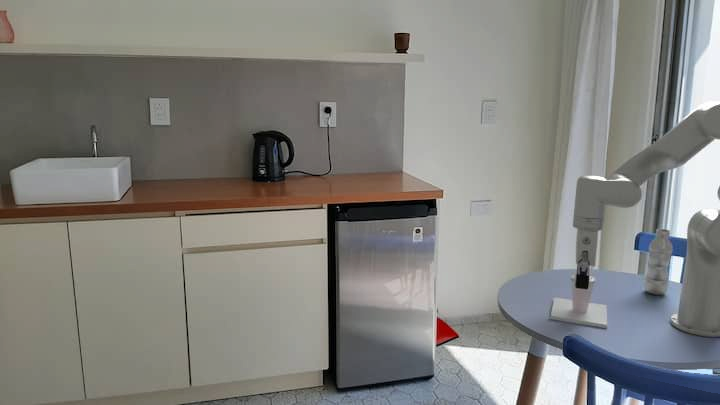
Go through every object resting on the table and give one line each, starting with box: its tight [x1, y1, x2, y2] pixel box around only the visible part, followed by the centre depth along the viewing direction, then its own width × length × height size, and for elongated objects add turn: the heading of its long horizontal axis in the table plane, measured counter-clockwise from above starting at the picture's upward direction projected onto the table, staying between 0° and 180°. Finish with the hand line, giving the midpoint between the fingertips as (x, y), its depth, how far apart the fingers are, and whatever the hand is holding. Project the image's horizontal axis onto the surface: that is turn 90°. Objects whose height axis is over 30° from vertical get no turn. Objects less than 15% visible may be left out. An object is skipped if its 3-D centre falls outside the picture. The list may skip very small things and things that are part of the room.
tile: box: [549, 297, 608, 329], centre depth 148 cm, size 14×14×1 cm
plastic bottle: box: [643, 228, 674, 296], centre depth 161 cm, size 6×7×20 cm
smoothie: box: [570, 273, 596, 313], centre depth 146 cm, size 6×6×14 cm
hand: (582, 282), depth 146 cm, fingers open, 9 cm apart
